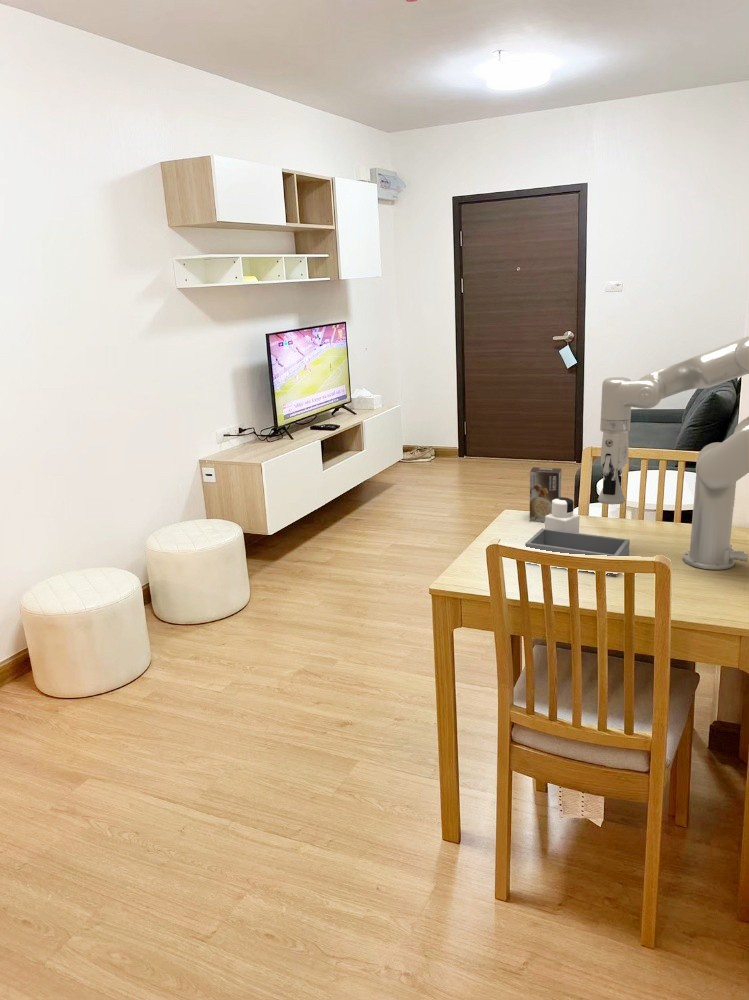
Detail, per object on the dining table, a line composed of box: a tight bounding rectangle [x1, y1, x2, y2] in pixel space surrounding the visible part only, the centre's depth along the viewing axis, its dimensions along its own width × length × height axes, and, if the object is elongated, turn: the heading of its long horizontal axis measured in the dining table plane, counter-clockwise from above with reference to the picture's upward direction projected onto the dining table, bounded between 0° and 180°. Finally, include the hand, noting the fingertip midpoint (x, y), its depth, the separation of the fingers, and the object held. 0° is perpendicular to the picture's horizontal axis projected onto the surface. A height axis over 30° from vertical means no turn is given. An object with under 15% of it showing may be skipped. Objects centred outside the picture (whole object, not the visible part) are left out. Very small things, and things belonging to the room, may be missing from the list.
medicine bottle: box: [544, 496, 581, 533], centre depth 225 cm, size 7×7×12 cm
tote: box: [524, 527, 631, 578], centre depth 208 cm, size 24×14×6 cm, turn 60°
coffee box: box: [529, 466, 562, 523], centre depth 242 cm, size 9×6×16 cm
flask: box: [597, 466, 626, 505], centre depth 210 cm, size 7×7×10 cm
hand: (611, 491), depth 210 cm, fingers closed on flask, 4 cm apart
